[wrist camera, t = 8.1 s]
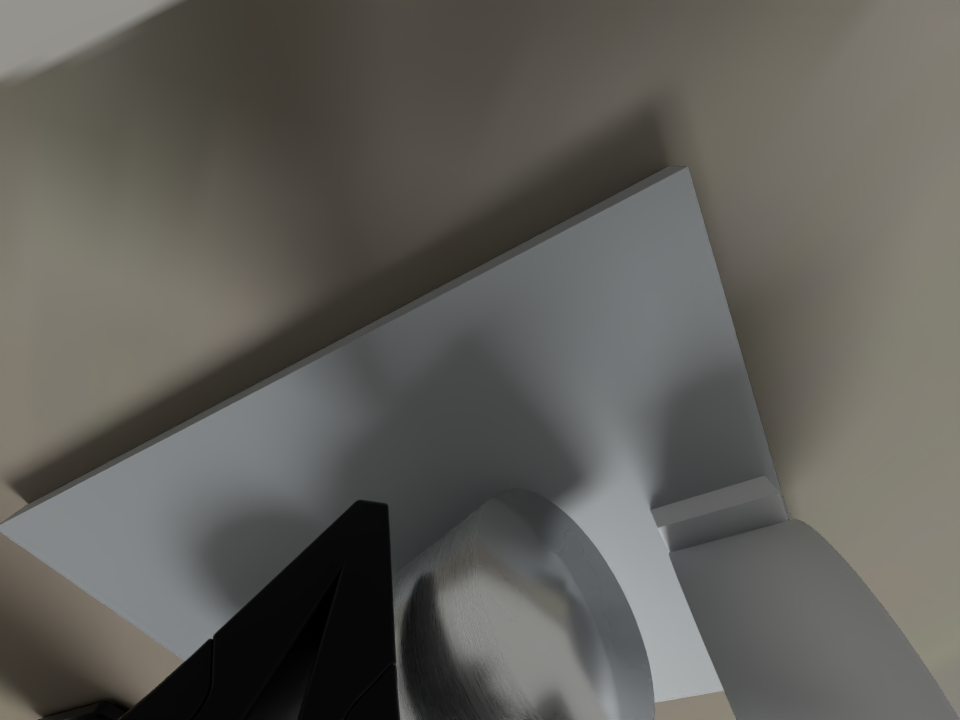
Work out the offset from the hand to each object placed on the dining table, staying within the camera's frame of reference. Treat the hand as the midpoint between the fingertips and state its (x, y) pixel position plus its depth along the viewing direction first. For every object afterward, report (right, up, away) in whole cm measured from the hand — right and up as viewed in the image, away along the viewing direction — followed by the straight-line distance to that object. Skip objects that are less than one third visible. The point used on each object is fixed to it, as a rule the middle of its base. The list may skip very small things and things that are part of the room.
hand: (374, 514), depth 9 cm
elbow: (0, -5, +4) cm, 7 cm away
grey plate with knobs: (0, -4, +6) cm, 7 cm away
